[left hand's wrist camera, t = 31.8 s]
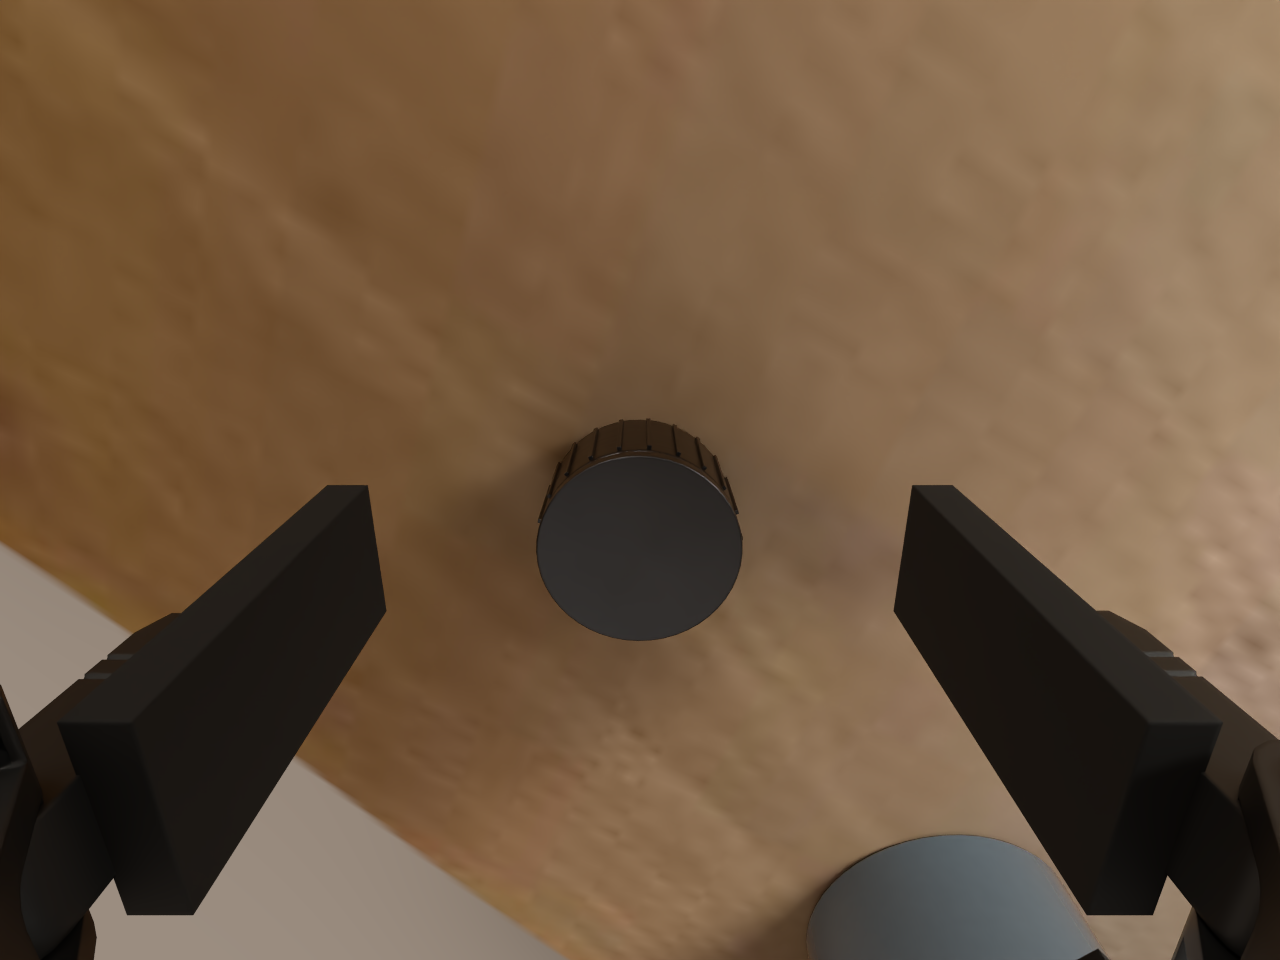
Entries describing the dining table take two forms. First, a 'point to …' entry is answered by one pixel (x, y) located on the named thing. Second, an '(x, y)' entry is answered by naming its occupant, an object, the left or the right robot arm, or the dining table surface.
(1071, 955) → the bottle
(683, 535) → the cap
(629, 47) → the dining table surface
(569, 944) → the dining table surface
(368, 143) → the dining table surface
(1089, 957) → the right robot arm
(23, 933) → the left robot arm
